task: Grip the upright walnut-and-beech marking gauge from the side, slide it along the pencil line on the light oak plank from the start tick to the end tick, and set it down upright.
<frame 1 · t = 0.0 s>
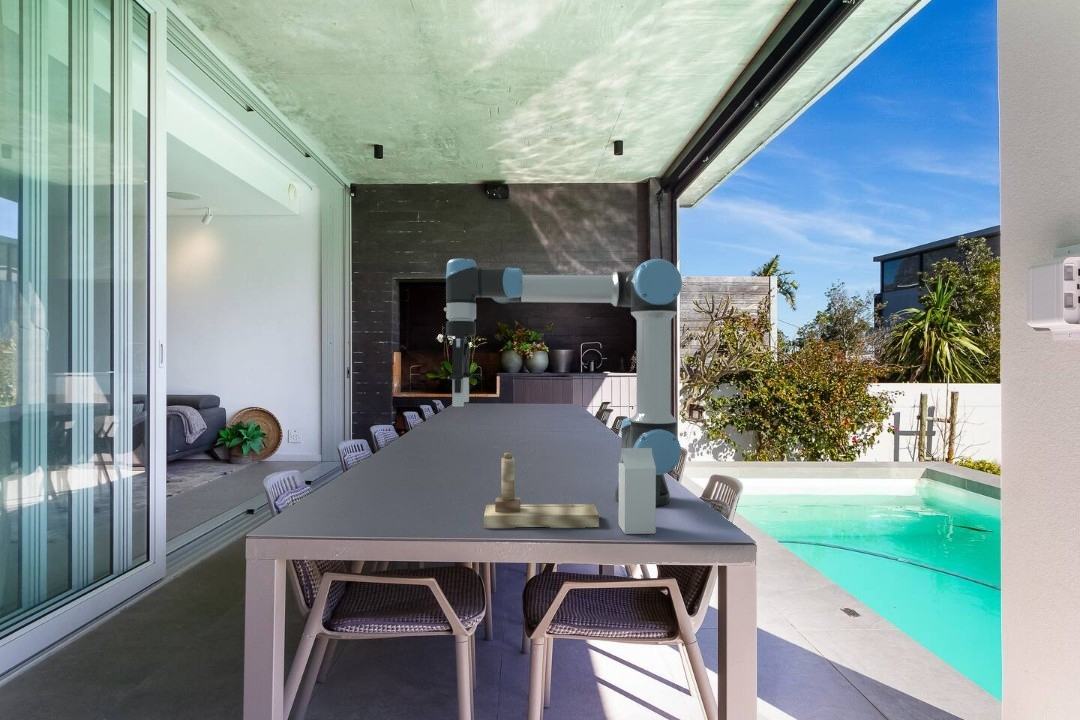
hand: (461, 404, 150), 28 cm above the table, tool pointing down, fingers open, 13 cm apart
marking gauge: (507, 509, 143), point 3 cm above the table, touching oak plank
milk carton: (636, 530, 137), on the table
oak plank: (540, 522, 143), on the table
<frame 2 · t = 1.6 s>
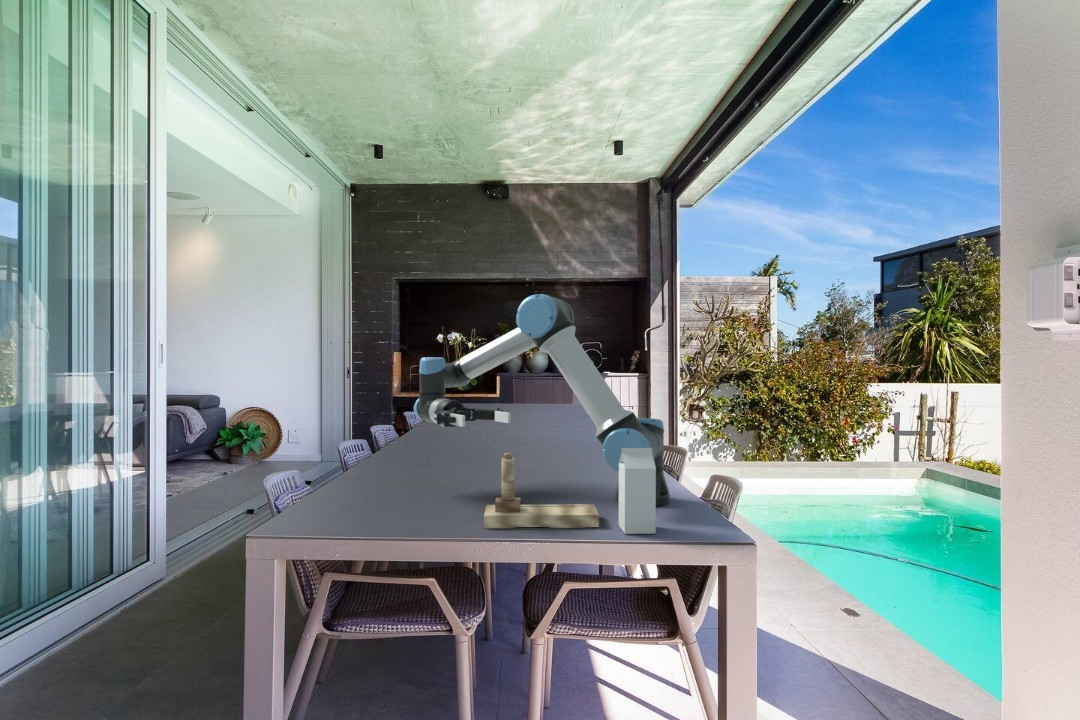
hand: (487, 419, 151), 24 cm above the table, tool horizontal, fingers open, 13 cm apart
nothing on the table moved.
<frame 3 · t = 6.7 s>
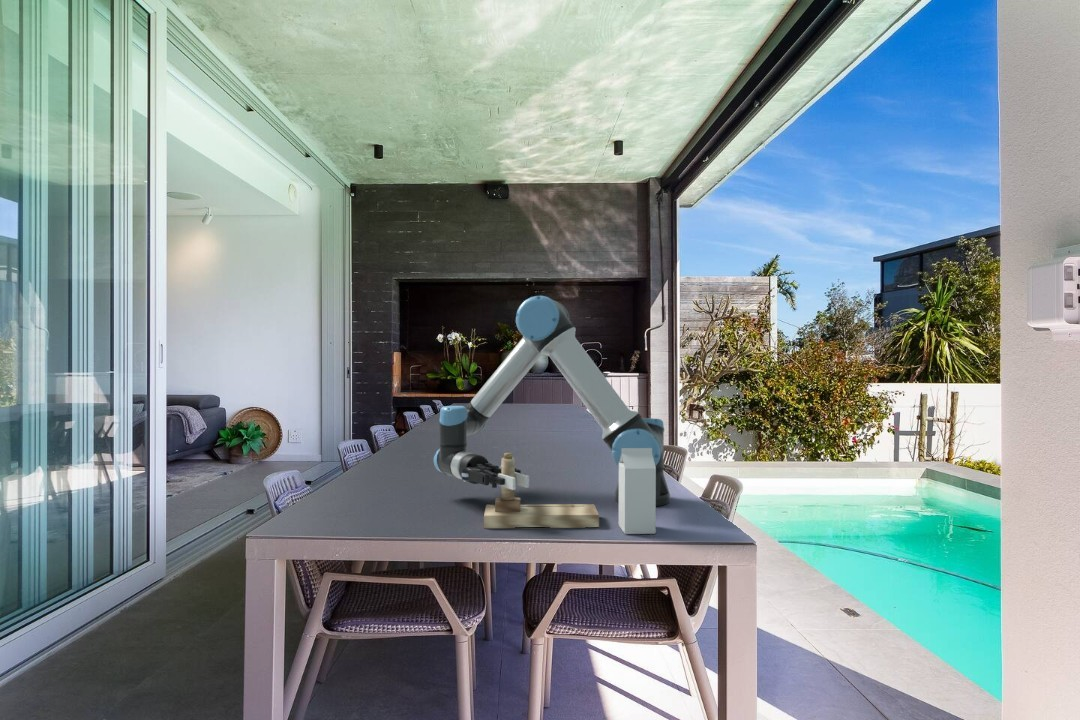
hand: (520, 482, 139), 10 cm above the table, tool horizontal, fingers closed on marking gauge, 3 cm apart
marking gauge: (507, 509, 143), point 3 cm above the table, touching gripper, oak plank
everything else where it was.
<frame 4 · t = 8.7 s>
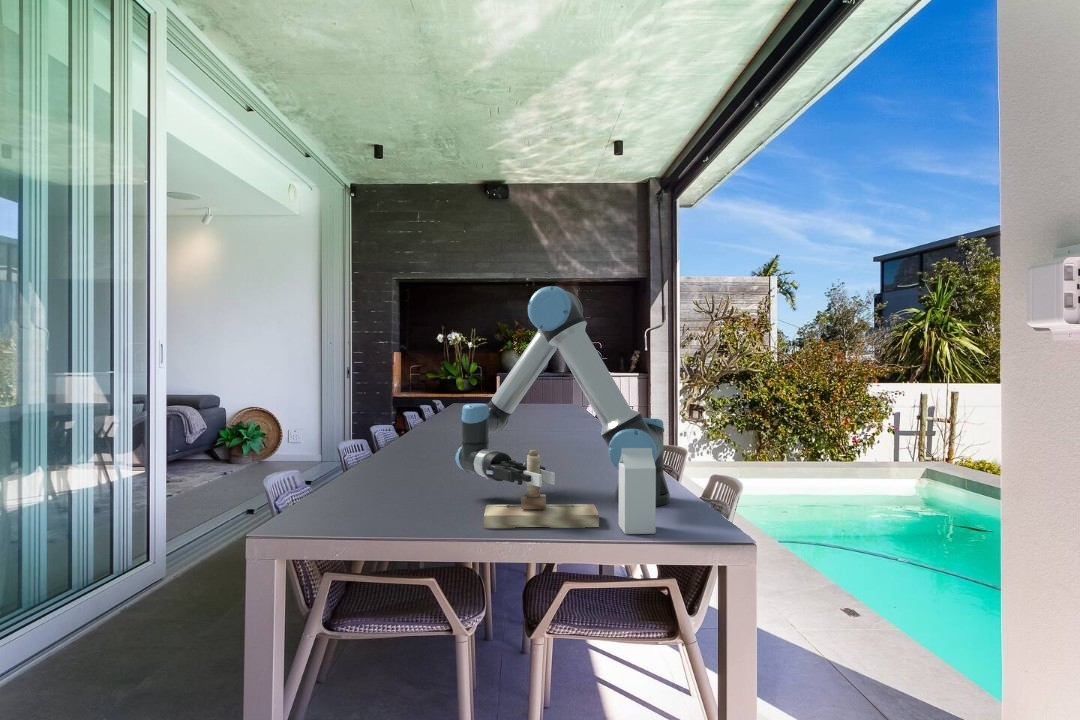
hand: (547, 479, 140), 11 cm above the table, tool horizontal, fingers closed on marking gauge, 3 cm apart
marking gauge: (533, 506, 144), point 4 cm above the table, touching gripper
everything else where it was.
when the fingers open (11 cm above the table, at t = 11.0 s): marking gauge stays where it is, resting on oak plank.
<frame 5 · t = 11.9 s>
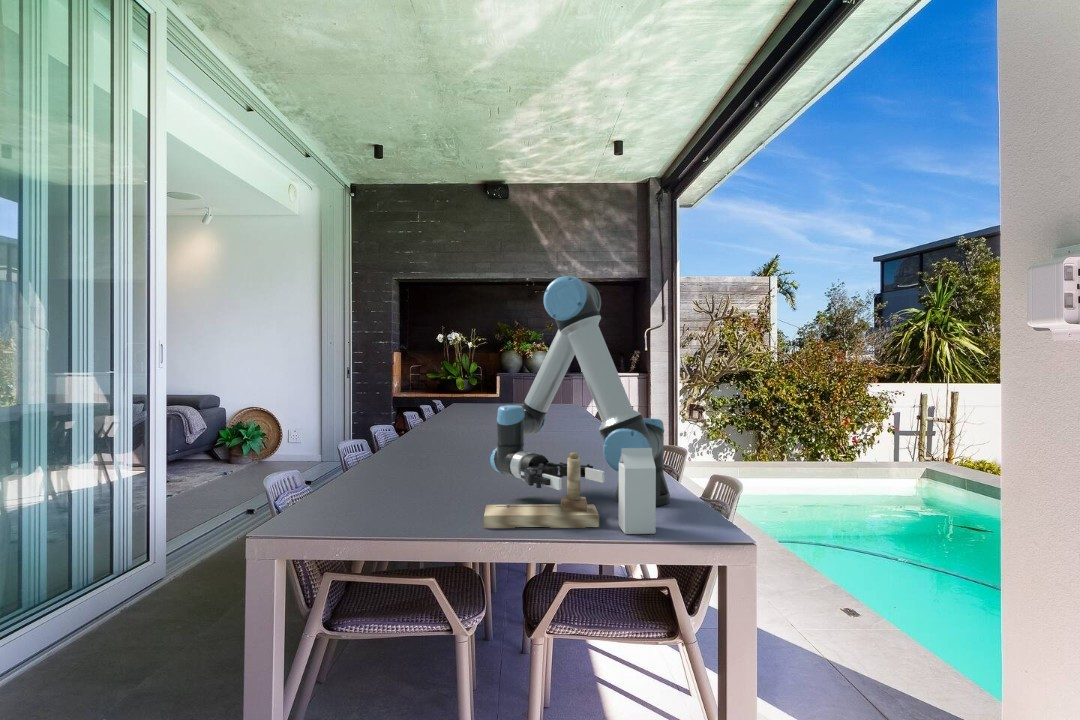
hand: (582, 480, 141), 11 cm above the table, tool horizontal, fingers open, 13 cm apart
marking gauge: (573, 509, 144), point 3 cm above the table, touching oak plank
everything else where it was.
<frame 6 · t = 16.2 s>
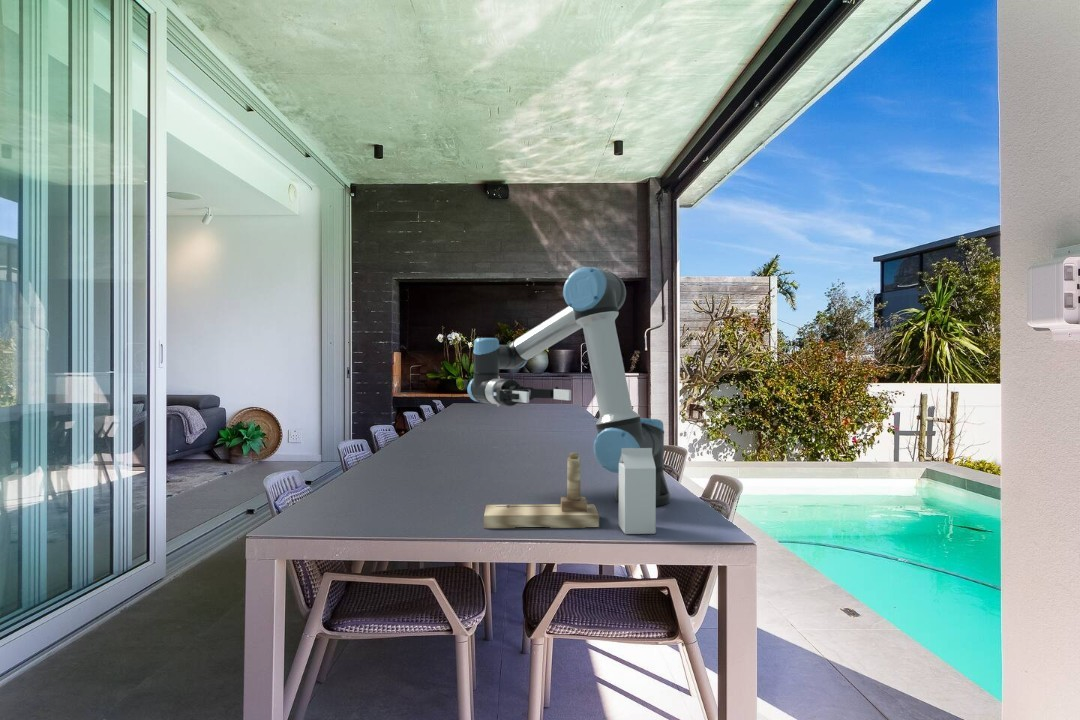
hand: (549, 396, 151), 30 cm above the table, tool horizontal, fingers open, 13 cm apart
nothing on the table moved.
at the end: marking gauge 0.0 cm from the target spot on the oak plank, point 3.0 cm above the oak plank's base; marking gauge tilted 1°; the gripper is holding nothing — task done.
